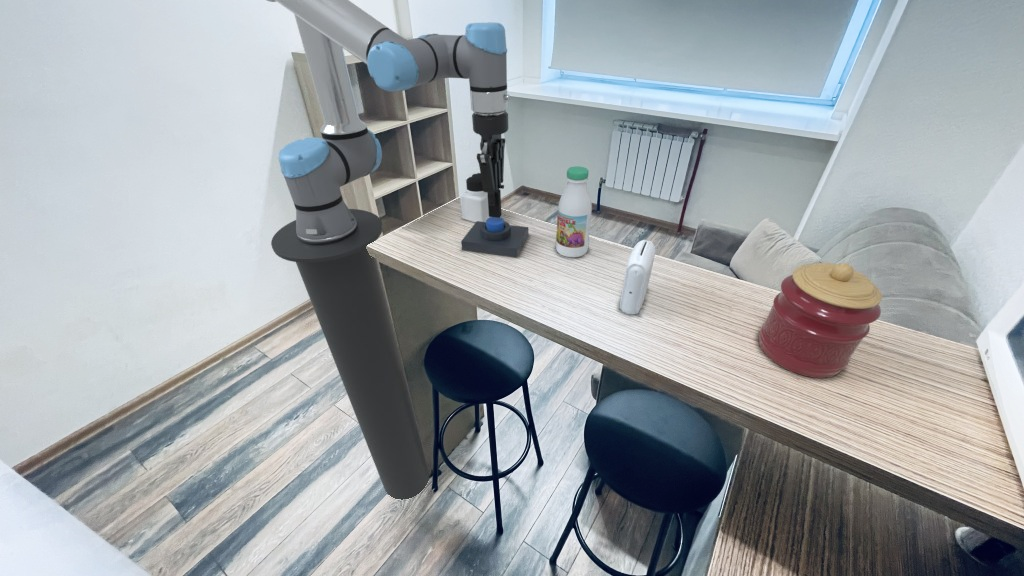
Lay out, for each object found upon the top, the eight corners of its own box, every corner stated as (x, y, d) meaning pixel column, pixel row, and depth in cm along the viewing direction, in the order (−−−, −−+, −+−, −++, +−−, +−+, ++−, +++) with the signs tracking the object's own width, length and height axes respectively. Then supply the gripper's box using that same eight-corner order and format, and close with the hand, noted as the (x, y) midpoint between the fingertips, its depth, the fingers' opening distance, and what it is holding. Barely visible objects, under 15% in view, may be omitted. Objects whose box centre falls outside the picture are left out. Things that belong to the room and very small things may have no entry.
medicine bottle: (497, 214, 115) (495, 173, 108) (482, 224, 110) (480, 182, 103) (476, 209, 118) (473, 169, 111) (461, 219, 113) (457, 177, 106)
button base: (462, 250, 100) (460, 233, 97) (477, 229, 108) (476, 214, 106) (517, 257, 96) (516, 240, 94) (528, 235, 105) (528, 220, 102)
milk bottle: (565, 239, 103) (570, 161, 91) (593, 247, 99) (602, 167, 88) (549, 252, 98) (553, 171, 86) (578, 261, 94) (586, 178, 83)
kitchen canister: (838, 338, 72) (890, 253, 62) (850, 390, 63) (914, 300, 53) (756, 318, 77) (792, 236, 67) (756, 364, 68) (798, 277, 57)
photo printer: (639, 317, 78) (650, 263, 71) (616, 312, 79) (626, 258, 72) (648, 288, 85) (660, 236, 78) (628, 284, 87) (637, 232, 80)
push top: (484, 231, 99) (483, 223, 97) (489, 223, 102) (489, 215, 101) (501, 233, 98) (501, 225, 96) (506, 225, 101) (506, 217, 100)
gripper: (497, 120, 78) (502, 230, 92) (515, 105, 88) (517, 206, 102) (461, 118, 80) (471, 226, 94) (483, 104, 90) (489, 203, 104)
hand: (495, 215), depth 98 cm, fingers closed
